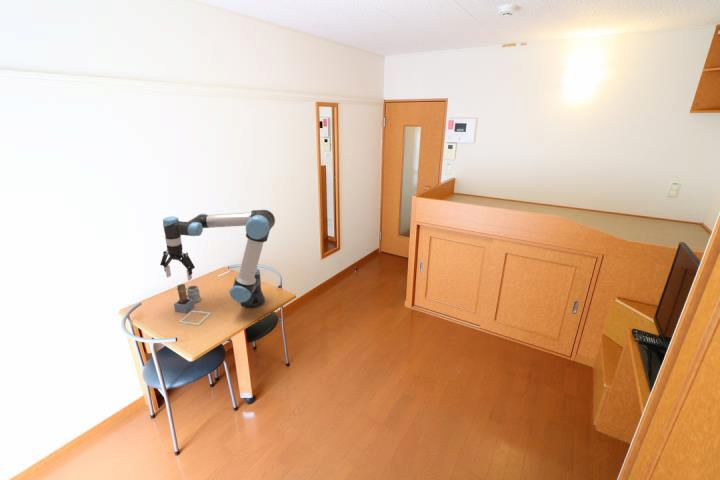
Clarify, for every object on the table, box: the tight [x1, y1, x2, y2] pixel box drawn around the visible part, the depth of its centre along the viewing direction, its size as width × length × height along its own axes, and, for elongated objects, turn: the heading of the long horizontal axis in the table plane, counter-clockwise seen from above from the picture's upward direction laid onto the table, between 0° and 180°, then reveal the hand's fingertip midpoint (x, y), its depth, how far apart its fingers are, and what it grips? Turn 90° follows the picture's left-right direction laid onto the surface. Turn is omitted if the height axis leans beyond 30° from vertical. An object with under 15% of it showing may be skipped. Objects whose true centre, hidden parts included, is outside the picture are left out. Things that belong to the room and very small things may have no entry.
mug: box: [185, 284, 202, 304], centre depth 208 cm, size 8×12×12 cm, turn 88°
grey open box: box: [173, 298, 195, 314], centre depth 200 cm, size 8×8×6 cm
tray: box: [178, 309, 212, 327], centre depth 192 cm, size 12×12×2 cm
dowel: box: [177, 283, 188, 305], centre depth 198 cm, size 4×4×16 cm
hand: (179, 278), depth 193 cm, fingers open, 13 cm apart
